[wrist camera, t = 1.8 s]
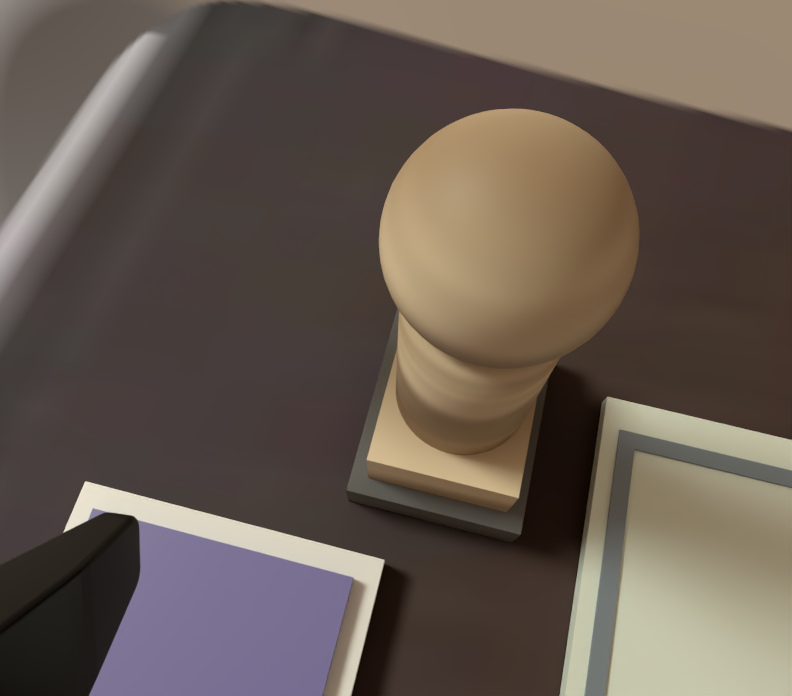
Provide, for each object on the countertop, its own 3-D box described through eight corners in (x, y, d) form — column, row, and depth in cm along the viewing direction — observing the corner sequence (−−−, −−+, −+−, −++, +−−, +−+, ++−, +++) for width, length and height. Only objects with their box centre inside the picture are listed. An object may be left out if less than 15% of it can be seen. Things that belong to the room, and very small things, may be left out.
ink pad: (292, 936, 17) (285, 955, 16) (-50, 830, 18) (-78, 841, 17) (384, 563, 21) (384, 558, 20) (95, 487, 22) (80, 478, 20)
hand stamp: (512, 542, 21) (683, 389, 9) (348, 500, 22) (303, 301, 9) (544, 360, 23) (716, 44, 11) (397, 326, 24) (410, -14, 12)
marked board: (987, 965, 17) (1011, 977, 17) (539, 835, 18) (545, 841, 18) (957, 487, 22) (974, 482, 21) (601, 403, 23) (607, 395, 22)
